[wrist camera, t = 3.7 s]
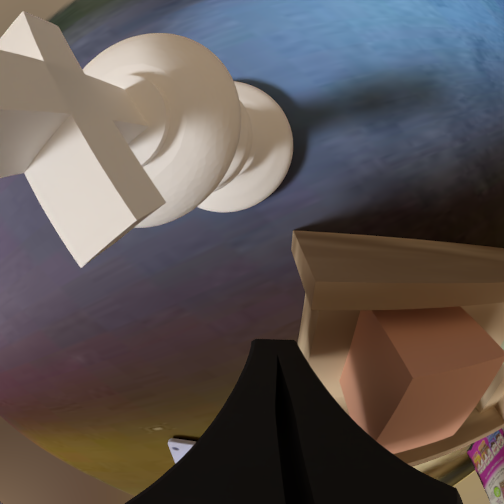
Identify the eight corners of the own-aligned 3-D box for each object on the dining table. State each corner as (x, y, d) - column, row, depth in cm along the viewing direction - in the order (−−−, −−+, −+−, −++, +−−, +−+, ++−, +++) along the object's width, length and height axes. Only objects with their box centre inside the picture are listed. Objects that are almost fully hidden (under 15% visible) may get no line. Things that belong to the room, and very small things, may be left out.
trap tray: (482, 392, 15) (504, 426, 11) (268, 428, 15) (269, 488, 11) (544, 253, 11) (585, 278, 7) (292, 230, 11) (315, 281, 7)
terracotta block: (418, 372, 10) (453, 435, 7) (339, 381, 10) (361, 460, 7) (449, 295, 9) (507, 354, 5) (363, 297, 9) (412, 377, 5)
